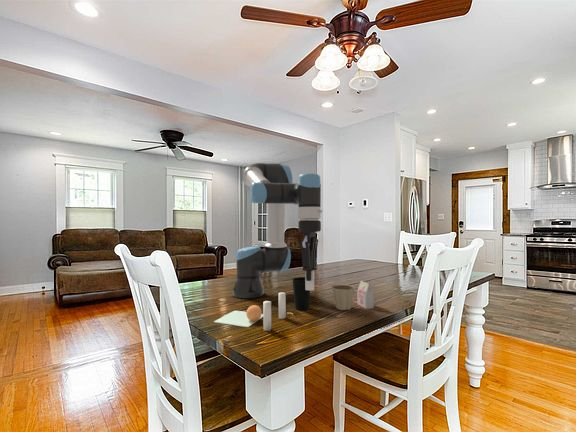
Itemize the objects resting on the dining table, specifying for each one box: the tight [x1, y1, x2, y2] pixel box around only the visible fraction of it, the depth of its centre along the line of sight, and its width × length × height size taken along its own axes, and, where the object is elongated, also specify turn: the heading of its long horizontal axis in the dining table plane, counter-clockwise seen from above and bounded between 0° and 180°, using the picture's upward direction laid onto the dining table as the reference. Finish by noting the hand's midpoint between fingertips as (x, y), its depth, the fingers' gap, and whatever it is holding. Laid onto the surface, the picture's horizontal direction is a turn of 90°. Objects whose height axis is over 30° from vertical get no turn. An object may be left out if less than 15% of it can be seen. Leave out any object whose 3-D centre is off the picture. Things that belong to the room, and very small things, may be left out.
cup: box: [291, 276, 311, 311], centre depth 118 cm, size 8×8×12 cm
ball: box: [245, 304, 263, 322], centre depth 103 cm, size 6×6×6 cm
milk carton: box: [356, 280, 374, 310], centre depth 121 cm, size 4×7×10 cm, turn 17°
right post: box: [278, 291, 287, 320], centre depth 107 cm, size 3×3×9 cm
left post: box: [262, 300, 272, 332], centre depth 95 cm, size 3×3×9 cm
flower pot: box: [331, 284, 356, 311], centre depth 118 cm, size 9×9×9 cm
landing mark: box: [213, 310, 263, 328], centre depth 106 cm, size 14×14×1 cm
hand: (309, 289), depth 97 cm, fingers closed
